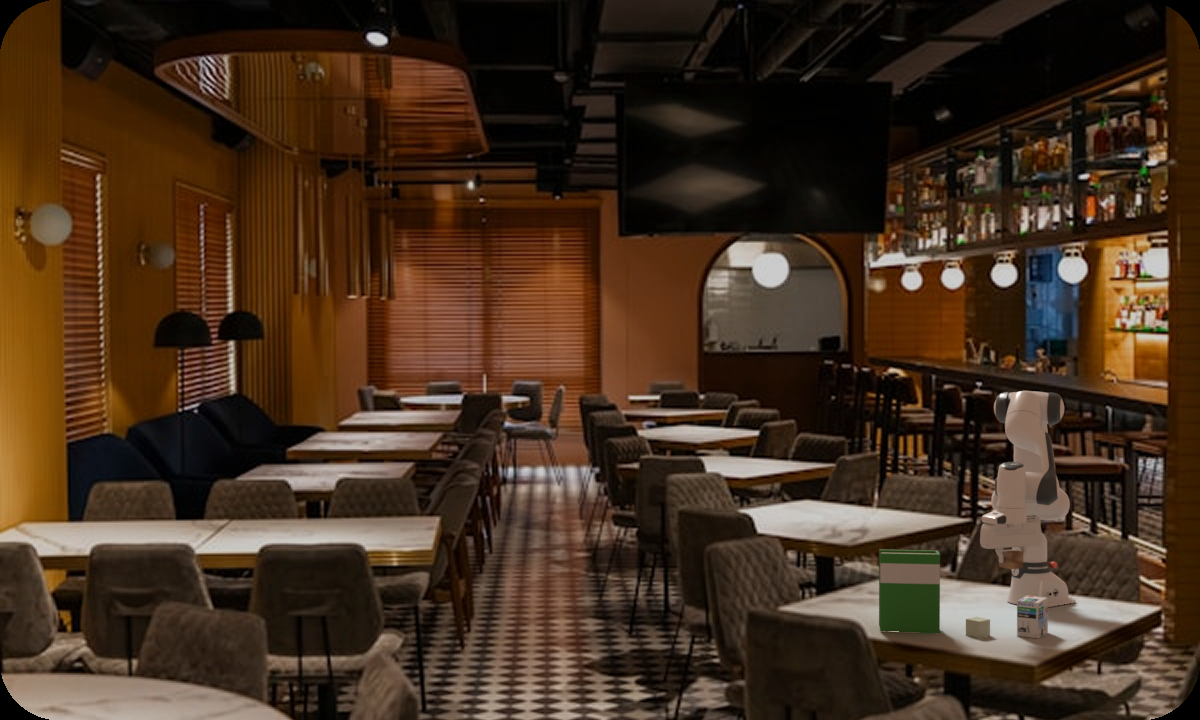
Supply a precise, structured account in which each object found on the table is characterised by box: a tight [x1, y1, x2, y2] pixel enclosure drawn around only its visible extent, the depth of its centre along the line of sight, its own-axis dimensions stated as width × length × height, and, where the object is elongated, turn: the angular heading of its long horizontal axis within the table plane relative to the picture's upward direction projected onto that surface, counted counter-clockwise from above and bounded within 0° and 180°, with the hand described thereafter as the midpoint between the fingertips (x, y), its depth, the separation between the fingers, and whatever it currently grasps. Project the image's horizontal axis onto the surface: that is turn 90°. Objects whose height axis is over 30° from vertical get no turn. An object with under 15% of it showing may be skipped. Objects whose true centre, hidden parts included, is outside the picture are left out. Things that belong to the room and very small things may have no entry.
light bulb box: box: [1016, 595, 1049, 639], centre depth 441 cm, size 11×7×11 cm, turn 148°
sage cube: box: [965, 616, 991, 639], centre depth 440 cm, size 5×5×5 cm
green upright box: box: [878, 548, 941, 634], centre depth 447 cm, size 18×7×24 cm, turn 82°
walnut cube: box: [998, 548, 1023, 570], centre depth 444 cm, size 5×5×5 cm
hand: (1011, 561), depth 444 cm, fingers closed on walnut cube, 5 cm apart
